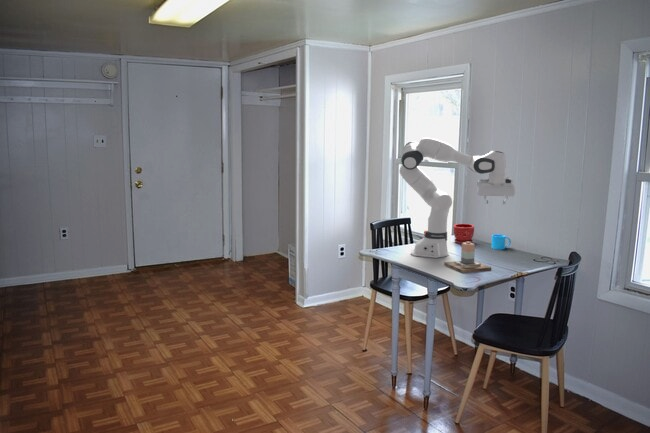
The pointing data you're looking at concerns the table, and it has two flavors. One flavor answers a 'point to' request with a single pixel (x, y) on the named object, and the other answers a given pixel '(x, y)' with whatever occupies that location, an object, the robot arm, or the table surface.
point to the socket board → (467, 266)
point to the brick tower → (467, 253)
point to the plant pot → (463, 233)
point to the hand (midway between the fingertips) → (495, 203)
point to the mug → (499, 241)
